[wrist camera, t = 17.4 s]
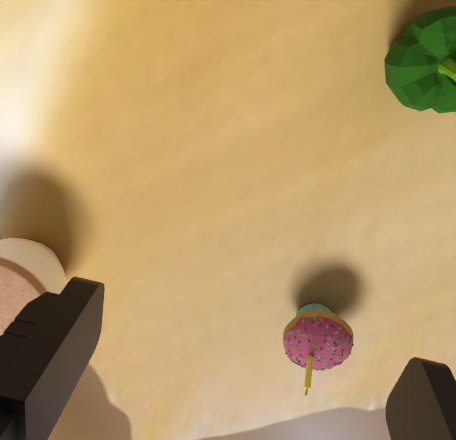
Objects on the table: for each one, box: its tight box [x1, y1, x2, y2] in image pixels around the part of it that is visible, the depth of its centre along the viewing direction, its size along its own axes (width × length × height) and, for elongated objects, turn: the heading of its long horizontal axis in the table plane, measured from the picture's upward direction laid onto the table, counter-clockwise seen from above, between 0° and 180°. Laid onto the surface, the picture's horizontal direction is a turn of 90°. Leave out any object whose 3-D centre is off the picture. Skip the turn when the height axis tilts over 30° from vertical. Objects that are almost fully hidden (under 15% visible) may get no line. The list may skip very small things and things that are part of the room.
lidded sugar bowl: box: [0, 238, 66, 335], centre depth 51 cm, size 13×13×11 cm
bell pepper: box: [384, 7, 456, 113], centre depth 35 cm, size 8×8×10 cm
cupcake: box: [283, 303, 353, 396], centre depth 50 cm, size 9×8×12 cm
